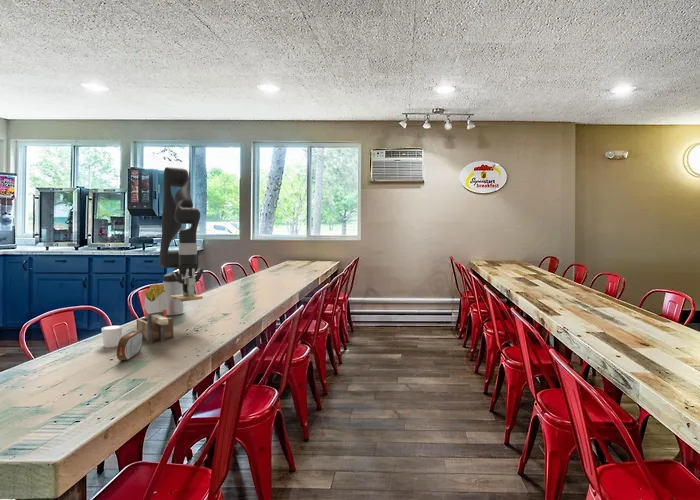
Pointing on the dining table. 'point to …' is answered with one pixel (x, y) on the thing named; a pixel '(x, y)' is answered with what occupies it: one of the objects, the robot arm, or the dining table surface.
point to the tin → (129, 345)
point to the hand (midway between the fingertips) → (188, 292)
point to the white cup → (111, 335)
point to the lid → (189, 294)
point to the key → (160, 319)
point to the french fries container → (155, 300)
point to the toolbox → (155, 328)
